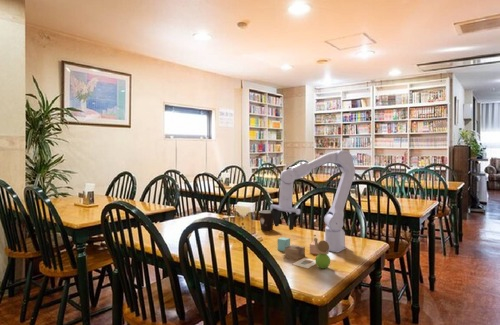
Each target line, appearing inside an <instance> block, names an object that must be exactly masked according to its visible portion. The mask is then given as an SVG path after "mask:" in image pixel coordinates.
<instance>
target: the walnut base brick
mask: <svg viewBox="0 0 500 325" xmlns="http://www.w3.org/2000/svg"><path fill="white" fill-rule="evenodd" d="M305 250H306V247H305V246H300V245H297V244H290V246H288V247H286V248H285V251H284V257H285V258H288V259H293V260H296V261H299V260H301V259H303V258H305V256H306V251H305Z"/></svg>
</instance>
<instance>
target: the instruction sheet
mask: <svg viewBox="0 0 500 325" xmlns="http://www.w3.org/2000/svg"><path fill="white" fill-rule="evenodd" d="M292 265H293V266H297V267H301V268H304V269H310V268H312V267H314V266H316V265H317V264H316V259H311V258H307V257H302V258H300V259H298V260H296V261H295V262H293V263H292Z"/></svg>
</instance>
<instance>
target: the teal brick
mask: <svg viewBox="0 0 500 325" xmlns="http://www.w3.org/2000/svg"><path fill="white" fill-rule="evenodd" d="M290 245H291V238H290V237H283V236H280V237H279V238H277V250H278V251H280V252H285V248H286V247H288V246H290Z"/></svg>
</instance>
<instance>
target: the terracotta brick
mask: <svg viewBox="0 0 500 325" xmlns="http://www.w3.org/2000/svg"><path fill="white" fill-rule="evenodd" d="M309 254H313V255H319V254H321V253H319V252H318V251H317V250H316V247H315V242H314V241H311V243H310V244H309Z"/></svg>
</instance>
